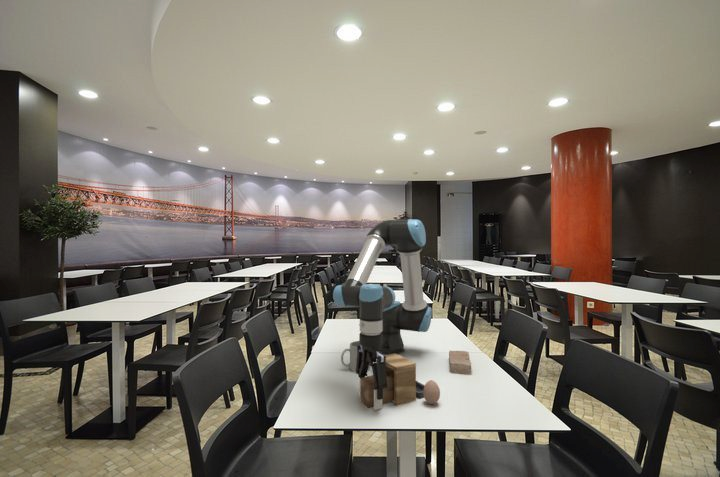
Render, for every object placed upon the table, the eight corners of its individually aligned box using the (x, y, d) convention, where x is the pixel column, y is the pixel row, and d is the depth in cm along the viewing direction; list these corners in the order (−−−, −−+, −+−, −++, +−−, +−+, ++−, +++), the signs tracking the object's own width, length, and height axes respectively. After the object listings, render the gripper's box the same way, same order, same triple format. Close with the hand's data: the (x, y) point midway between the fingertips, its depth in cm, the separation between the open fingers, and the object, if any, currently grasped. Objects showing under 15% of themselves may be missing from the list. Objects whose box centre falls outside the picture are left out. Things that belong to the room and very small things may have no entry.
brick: (471, 375, 131) (471, 363, 132) (449, 373, 133) (449, 362, 134) (468, 361, 148) (468, 351, 148) (448, 360, 150) (448, 349, 150)
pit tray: (398, 386, 121) (398, 381, 121) (411, 383, 124) (411, 378, 124) (418, 398, 111) (418, 393, 111) (432, 394, 114) (432, 389, 114)
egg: (440, 408, 105) (440, 384, 105) (423, 406, 106) (423, 383, 106) (439, 400, 110) (439, 377, 110) (423, 398, 111) (423, 376, 111)
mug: (369, 364, 143) (369, 340, 144) (371, 371, 135) (371, 346, 135) (340, 365, 142) (340, 341, 143) (341, 372, 134) (341, 347, 134)
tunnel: (376, 392, 116) (376, 357, 116) (395, 387, 120) (395, 353, 120) (396, 406, 106) (396, 367, 106) (415, 400, 110) (415, 363, 111)
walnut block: (360, 402, 109) (360, 378, 109) (397, 392, 117) (397, 369, 117) (368, 409, 105) (368, 383, 105) (406, 397, 112) (406, 374, 112)
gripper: (345, 326, 115) (345, 393, 115) (379, 342, 98) (378, 420, 97) (364, 324, 119) (363, 388, 119) (399, 338, 101) (399, 414, 101)
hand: (370, 402), depth 108 cm, fingers open, 8 cm apart
